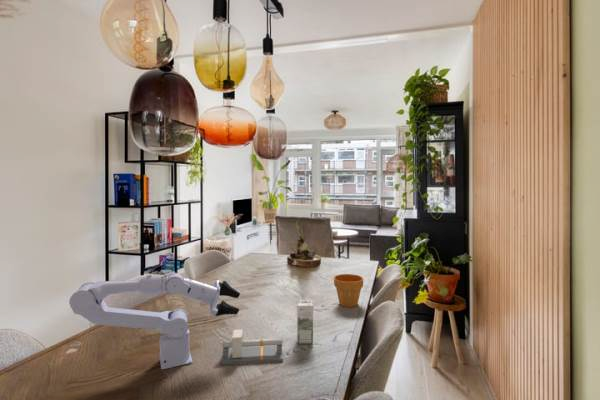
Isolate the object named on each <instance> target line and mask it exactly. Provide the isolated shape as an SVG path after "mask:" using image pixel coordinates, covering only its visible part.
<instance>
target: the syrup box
mask: <svg viewBox="0 0 600 400" xmlns="http://www.w3.org/2000/svg"><path fill="white" fill-rule="evenodd" d="M296 301H297V302H296V309H297V311H296V316H297V317H296V318H297V319H296V320H297V321H296V322H297V324H296V326H297V327H296V329H297V330H296V331H297V332H296V334H297V335H296V336H297V344H298V345H308V344H311V345H312V344H314V305H313V301H312V300H296Z"/></svg>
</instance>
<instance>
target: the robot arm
mask: <svg viewBox="0 0 600 400" xmlns="http://www.w3.org/2000/svg"><path fill="white" fill-rule="evenodd" d="M135 292H139V293H140V294H141V295H143V296H144V295H158V294H159V295H160V294H165V293H168V294H170V296H178V295H179V296H180V295H181V296H183V297H186V298H189V299H193V300H196V301H199V302H202V303H206V304H208V305H209V314H210V315H213V316H215V317H220V316H223V315H238V313H239V312H240V308H238V307H236V306H233V305H231V304H228V303H227V302H226V301H224V300H221V302H220V303H219V299H220V296H221V297H222V296H223V297H224V296H225V297H230V298H234V299H239V297H240V296H241V292H239V291H238V290H236V289H235V288H234V287H232V286H231V285H229V283H228V282H227V281H226V280H223V281H222V280H220V279H216V280H215V282H214V286H213V285H210V284H207V283H203V282H201V281H197V280H195V279H190V278H188V277H185V276H183V275H181V273H178V272H170V273H164V274H163V275H153V274H152V273H147V275H145V276H144V275H143V276H142V277H141V278H140V279H139V280H108V281H107V280H98V281H94V282H92V281H90V282H85V283H83V284H82V285H81V286H80V287H79V288H78V289H77V291H75V292H73V293H72V295H71V296H70V297H69V299H68V300H69V301H68V302H69V306H70V308H71V310H72V312H73V314H75V315H78V316H81V317H83V318H84V319H86V320H87V321H89V322H90V323H92V324H94V325H100V326H101V325H102V326H112V327H123V328H133V329H134V328H135V329H144V330H145V329H146V330H154V331H155V330H156V331H157V332H159V333H160V334H162V336H160V337H159V354H158V355H159V356H158V359H159V360H158V361H159V362H160V370H167V369H170V368H175V367H178V366H183V365H188V364H192V363H193V358H192V356H191V350H190V348H191V345H190V344H191V343H190V342H191V341H190V340H191V339H190V338H191V336H190V329H189V324H188V320H189V318H188V317H189V316H188V313H187V312H186V311H185V310H183V309H182V308H181V309H180V308H178V309H174V310H165V311H162V312H158V311H149V310H139V309H138V310H137V309H129V308H123V307H122V308H119V307H110V306H108V305H107V303H106V302H105V300H104V299H105V298H107V297H108V296H110V295H116V294H124V293H125V294H126V293H135Z"/></svg>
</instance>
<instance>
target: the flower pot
mask: <svg viewBox="0 0 600 400" xmlns="http://www.w3.org/2000/svg"><path fill="white" fill-rule="evenodd" d="M333 285H334V287H335V289H336V294H337V298H338V303H339V305H340V306H342V307H346V308H353V307H354V308H355V307H356V306H358V304H359V300H360V299H359V298H360V295H361V294H360V293H361V291H362V288H363V287H364V278H363V277H362V276H361V275H359V274H358V275H357V274H353V273H351V274H349V273H344V274H338V275H334V277H333Z"/></svg>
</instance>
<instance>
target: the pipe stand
mask: <svg viewBox="0 0 600 400" xmlns="http://www.w3.org/2000/svg"><path fill="white" fill-rule="evenodd" d="M221 347H222V358H221V361H220V365H221V366H229V365H230V366H231V365H246V364H262V363H280V362H282V363H283V362H284V358H283V357H284V356H283V338H267V339H266V338H264V339H263V338H260V339H248V340H245V339H243V341H242V347H243V352H242V357H238V358H232V340H229V341H228V340H227V341H222V343H221Z"/></svg>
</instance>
